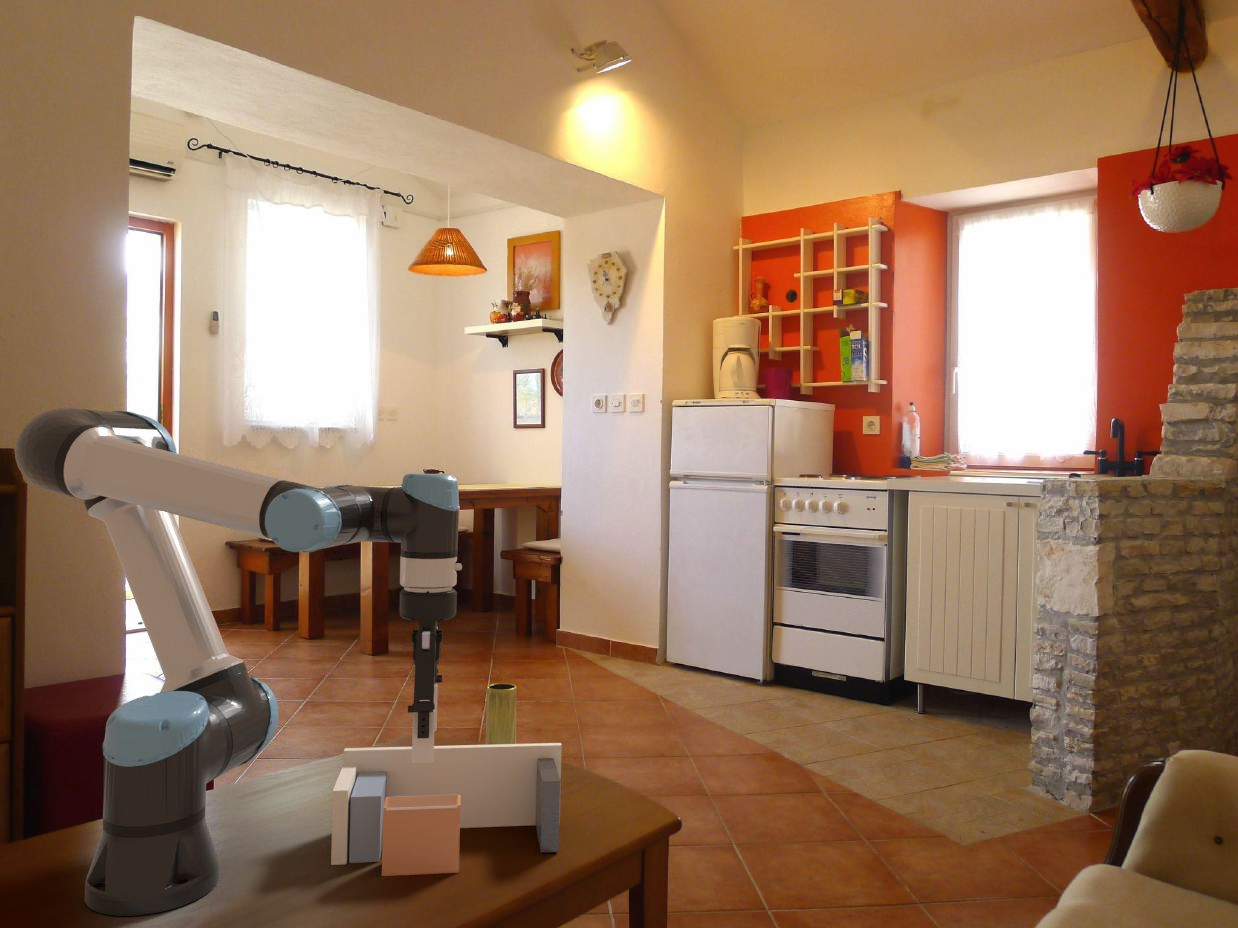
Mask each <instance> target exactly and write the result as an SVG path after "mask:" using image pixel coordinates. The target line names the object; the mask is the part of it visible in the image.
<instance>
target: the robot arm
mask: <svg viewBox="0 0 1238 928" xmlns="http://www.w3.org/2000/svg"><path fill="white" fill-rule="evenodd" d="M168 431H169V430H167V428H166V427H165V426H163V425H162V424H161V423H160V422H158V421H157V420H156V419H153V418H151V417H149V416H147V415H144V414H138V413H135V412H132V411H127V410H125V411H124V410H113V411H108V410H107V411H106V410H95V409H94V410H93V409H83V408H76V407H60V408H54V409H48V410H46V411H43V412H41V413H39V414H37V415H36V416H34V417H32V418H31V419H30V420H29V421H27V422H26V423H25V424H24V425H23V427H22V428H21V430H20V432H19V434H18V436H17V439H16V441H15V445H14V458H15V462H16V465H17V467H18V470H19V471H20V473H21V474H22V475H23V477H24V478H25V479H26V480H27V481H28V482H29V483H30V484H32V485H33V486H34V487H36V488H38V489H41V490H43V491H46V492H49V493H53V494H58V495H63V496H68V497H73V498H76V499H81V500H82V501H83V504H84V506H85V510H86V512H87V515H88V516H90V517H92V518H95V519H97V520H99V521H101V522H103V523H104V525H105V527H106V529H107V532H108V535H109V537H110V539H111V542H112V545H113V547H114V550H115V552H116V555H117V558H118V560H119V563H120V565H121V568H122V571H123V573H124V575H125V578H126V580H127V581H126V582H127V583H128V585H129V588H130V591H131V594H132V596H133V598H134V601H135V604H136V607H137V609H138V612H139V614H140V617H141V620H142V623H143V624H144V627H145V629H146V633H147V635H148V639H149V640H150V643H151V646H152V648H153V650H154V653H155V656H156V658H157V661H158V664H159V666H160V669H161V671H162V673H163V676H164V683H163V685H162V686H161V689H160V691H159V692H156V693H155V694H153V695H144V696H143V695H142V696H141V697H140V696H139V697H137V698H135V699H134V698H133V699H131V700H129V701H127V702H126V703H123V704H122V705H120V706H119V707H117V708H116V709H115V710H114V711H112V712H111V714H110V715H109V717H108V719H107V721H106V724H105V733H104V739H103V742H102V754H103V779H102V780H103V785H102V786H103V787H102V788H103V789H102V790H103V791H102V792H103V793H102V796H103V797H102V833H101V837H100V840H99V842H98V845H97V847H96V850H95V854H94V856H93V859H92V861H91V865H90V867H89V869H88V873H87V875H86V877H85V881H84V904H86V906H87V907H88V908H89V909H91V911H94V912H96V913H99V914H104V915H110V916H117V917H118V916H120V917H125V916H126V917H129V916H130V917H131V916H143V915H150V914H157V913H160V912H161V913H162V912H166V911H170V910H173V909H177V908H179V907H182V906H186V905H188V904H190V903H192V902H195V901H197V900H199V899H201V898H202V897H204V896H205V895H208V893H209V892H211V891H212V890H213V889H214V888H215V887H216V885H217V884H218V882H219V877H220V875H219V874H220V873H219V872H220V860H219V857H218V854H217V851H216V848H215V845H214V841H213V839H212V836H211V833H210V831H209V827H208V824H207V821H206V820H207V819H206V807H207V806H206V803H207V802H206V801H207V784H208V783H210V782H212V781H214V780H215V779H217V778H219V777H220V776H222V775H224V774H226V773H228V772H229V771H231V770H234V769H235V768H237V767H240V766H242V765H244V764H247V763H249V762H250V761H252V760H253V759H254V758H255V757H256V756H257V755H258V754H260V753H261V752H262V751H264V750H265V749H266V748H267V746H269V744H270V743H271V742H272V740H273V737H274V735H275V733H276V731H277V728H278V723H279V705H278V701H277V698H276V697H275V694H274V692H273V691H272V689H271V687H269V686H268V685H267V684H266V683H265V682H264V681H260V680H259V679H258V678H257V677H253V676H251V675H250V674H249V672H248V668H247V667H246V664H245V662H244V660H243V659H241V658H239V657H237V656H234V655H231V654H230V652H228V650H227V647H226V645H225V642H224V641H223V640H224V639H223V638H222V634H221V633H220V630H219V627H218V624H217V622H216V619H215V617H214V615H213V612H212V609H211V606H210V604H209V602H208V601H209V600H208V599H207V596H206V594H205V592H204V589H203V586H202V584H201V582H200V579H199V576H198V574H197V571H196V569H195V567H194V563H193V561H192V558H191V556H190V553H189V551H188V548H187V546H186V543H185V541H184V538H183V536H182V534H181V531H180V527H179V525H178V523H177V521H176V520H177V519H176V518H175V516H180V517H183V518H187V519H190V520H191V519H192V520H195V521H199V522H204V523H207V524H211V525H215V526H220V527H223V528H226V529H231V530H236V531H239V532H243V533H246V534H250V535H254V536H258V537H262V538H266V539H270V540H271V541H272V542H273V543H274V544H275V545H276V546H278V548H281V549H282V550H284V551H288V552H293V553H301V552H302V553H313V552H317V551H320V550H322V549H328V548H332V547H337V546H344V545H349V544H354V543H361V542H363V543H364V542H370V543H372V542H373V543H377V542H378V543H395V544H396V543H400V558H399V561H400V563H399V584H400V586H402V587H403V589H401V591H399V615H400V618H402V619H404V620H408V621H414V620H415V621H417V622H418V629H415V628H414V629H413V630H412V633H411V647H412V649H413V650H412V663H413V665H414V687H413V704H412V705H407V713H408V714H409V713H410V714H411V713H412V738H411V739H412V740H411V743H412V744H411V747H412V763H426V762H434V746H435V732H437V726H438V724H437V722H438V691H439V690H438V687H439V685H438V683H439V684H441V683H443V675H442V674H439V669H438V665H439V664H440V659H441V658H440V656H441V655H440V654H441V647H442V645H443V635H444V633H443V629H441V628H439V627H438V626H439V622H440V621H447V620H450V619H453V618H454V617H456V614H457V600H458V598H457V597H458V596H457V595H458V591H456V589H454V588H453V587H455V586H456V585H457V581H458V580H457V579H458V578H457V577H458V574H457V571H462V570H463V565H462V563H459V562H458V563H456V562H457V561H458V548H459V546H458V544H459V542H458V541H459V523H460V521H459V519H460V518H459V517H460V510H461V509H460V500H459V499H460V498H459V497H460V496H459V492H460V491H459V481H458V479H457V478H456V477H455V476H454V475H453V474H446V473H417V472H415V473H406V474H404V476H403V478H402V483H401V485H400V486H396V487H395V486H394V487H387V486H386V487H383V486H367V485H366V486H364V485H353V484H352V485H351V484H337V485H328V486H324V487H317V486H316V487H315V486H312V485H311V486H310V485H307V484H303V483H300V482H294V481H289V480H286V479H282V478H278V477H274V476H270V475H266V474H263V473H258V472H254V471H249V470H245V469H242V468H237V467H233V466H230V465H227V464H226V465H225V464H222V463H217V462H213V461H208V460H205V459H202V458H201V459H200V458H198V457H193V456H188V455H185V454H182V453H181V454H180V453H177V448H176V444H175V442H174V439H173V437H172V435H171V434H170V432H168Z"/></svg>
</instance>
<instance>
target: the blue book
mask: <svg viewBox="0 0 1238 928" xmlns="http://www.w3.org/2000/svg"><path fill="white" fill-rule="evenodd" d="M386 797H387V772H359V774H358V777H357V780H356V783H355V786H354V789H353V792H352V795H351V807H350V849H349V857H348V863H349V864H357V863H373V862H374V863H377V862H380V860H381V858H382V845H383V808H384V803H385V799H386Z"/></svg>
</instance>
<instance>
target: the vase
mask: <svg viewBox="0 0 1238 928" xmlns="http://www.w3.org/2000/svg"><path fill="white" fill-rule="evenodd" d="M517 687H518V686H517V685H516V684H515V683H514V684H513V683H509V682H495V683H491V684H488V685H487V687H486V714H485V715H486V717H485V718H486V720H485V721H486V722H485V724H486V725H485V739H484V741H485V742H484V745H496V744H517V689H518V688H517Z"/></svg>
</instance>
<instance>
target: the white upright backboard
mask: <svg viewBox="0 0 1238 928" xmlns="http://www.w3.org/2000/svg"><path fill="white" fill-rule="evenodd" d="M562 745H563V744H562V742H547V743H546V742H545V743H544V742H542V743H541V742H539V743H516V744H496V745H485V744H467V745H466V744H464V745H463V744H461V745H457V744H456V745H434V762H426V763H412V746H383V747H382V746H381V747H346V748H344V750H343V762H342V763H343V764H342V767H341V770H340V772H339V775H338V776H337V779H336V782H335V785H334V786H333V788H332V809H331V811H332V814H331V816H332V817H331V823H332V824H331V847H330V848H331V849H330V850H331V853H330V854H331V855H330V859H331V860H330V866H336V865H337V866H338V865H339V866H340V865H347V864H348V862H349V849H350V807H351V795H352V792H353V789H354V786H355V783H356V780H357V777H358V774H359V772H387V797H402V796H431V795H461V797H460V829H468V828H469V829H470V828H494V827H499V828H500V827H519V826H520V827H521V826H522V827H524V826H536V787H537V759H542V758H554V761H555V764H556V768H557V771H558V775H559V778H560V793H561V792H562V791H561V789H562V787H561V786H562V785H561V783H562V782H561V781H562V748H563V747H562ZM560 820H561V814H560V815H559V825H560V824H561V823H560V822H561V821H560Z"/></svg>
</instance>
